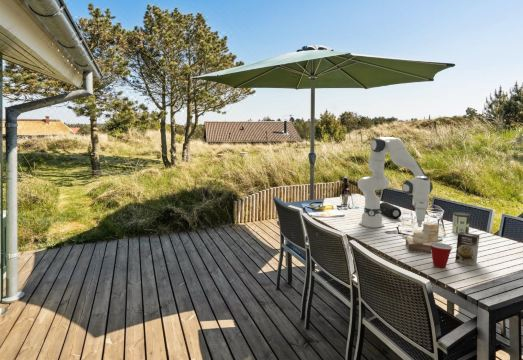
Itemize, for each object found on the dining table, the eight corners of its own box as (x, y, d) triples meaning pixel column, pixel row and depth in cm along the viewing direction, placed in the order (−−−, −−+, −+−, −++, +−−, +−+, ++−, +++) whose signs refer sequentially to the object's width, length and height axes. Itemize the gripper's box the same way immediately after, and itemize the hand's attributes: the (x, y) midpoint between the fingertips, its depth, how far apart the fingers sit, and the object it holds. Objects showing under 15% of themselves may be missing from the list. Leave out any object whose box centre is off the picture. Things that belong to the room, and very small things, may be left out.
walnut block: (405, 244, 194) (406, 237, 194) (426, 246, 191) (426, 239, 190) (408, 251, 183) (409, 243, 182) (430, 253, 179) (431, 245, 179)
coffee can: (462, 230, 222) (463, 211, 220) (472, 234, 211) (473, 215, 209) (448, 230, 221) (449, 212, 220) (457, 235, 211) (459, 215, 209)
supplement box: (427, 244, 193) (429, 225, 191) (421, 242, 198) (423, 223, 196) (438, 243, 195) (439, 224, 193) (432, 241, 200) (433, 222, 198)
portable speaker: (377, 212, 278) (377, 201, 277) (387, 212, 278) (388, 201, 277) (390, 219, 253) (391, 208, 251) (402, 219, 253) (402, 207, 252)
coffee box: (454, 261, 167) (457, 233, 165) (457, 258, 171) (460, 231, 169) (474, 266, 160) (477, 237, 158) (477, 262, 165) (479, 234, 163)
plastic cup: (453, 265, 162) (454, 244, 160) (449, 272, 154) (450, 249, 152) (430, 260, 169) (432, 239, 167) (425, 266, 161) (427, 244, 159)
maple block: (413, 239, 190) (413, 230, 189) (422, 240, 188) (422, 231, 187) (413, 242, 185) (414, 232, 184) (422, 243, 183) (423, 233, 182)
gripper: (413, 198, 193) (412, 219, 196) (415, 205, 175) (414, 228, 177) (424, 199, 191) (423, 220, 193) (428, 206, 172) (426, 229, 175)
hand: (418, 224), depth 185 cm, fingers open, 8 cm apart
